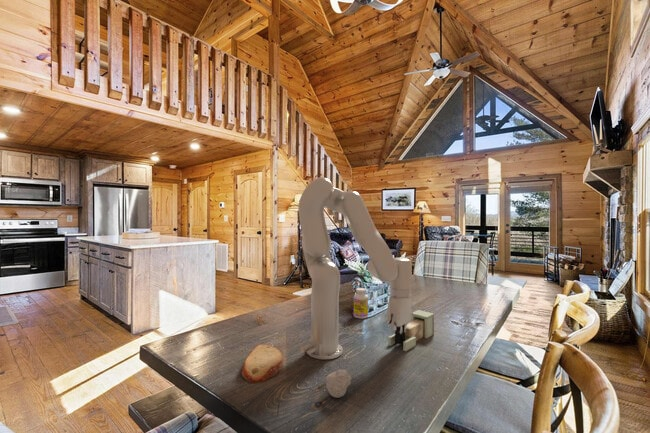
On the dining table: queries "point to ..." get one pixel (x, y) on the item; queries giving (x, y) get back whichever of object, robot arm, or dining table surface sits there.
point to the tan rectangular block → (415, 329)
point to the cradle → (406, 344)
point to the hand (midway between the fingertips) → (399, 342)
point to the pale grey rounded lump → (338, 383)
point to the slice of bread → (262, 364)
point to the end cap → (428, 321)
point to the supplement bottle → (361, 303)
